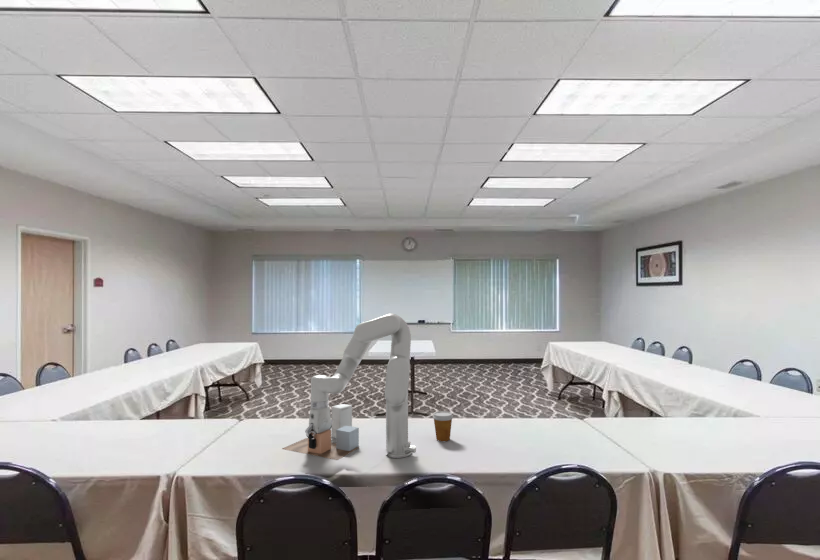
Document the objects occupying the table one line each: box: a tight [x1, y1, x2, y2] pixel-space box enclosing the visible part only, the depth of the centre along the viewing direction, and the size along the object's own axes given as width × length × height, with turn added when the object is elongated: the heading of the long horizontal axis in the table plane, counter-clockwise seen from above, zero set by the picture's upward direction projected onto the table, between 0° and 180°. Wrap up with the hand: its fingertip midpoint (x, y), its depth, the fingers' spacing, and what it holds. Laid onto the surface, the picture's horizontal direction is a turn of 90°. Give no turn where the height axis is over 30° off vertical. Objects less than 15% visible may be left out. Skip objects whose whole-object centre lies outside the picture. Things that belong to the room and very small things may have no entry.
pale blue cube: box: [335, 426, 360, 451], centre depth 183 cm, size 7×7×8 cm
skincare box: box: [330, 403, 353, 439], centre depth 199 cm, size 8×7×16 cm
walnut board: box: [281, 437, 360, 461], centre depth 182 cm, size 30×16×2 cm, turn 63°
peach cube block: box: [308, 429, 332, 454], centre depth 180 cm, size 7×7×8 cm
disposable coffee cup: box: [432, 410, 454, 442], centre depth 197 cm, size 10×10×12 cm
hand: (319, 444), depth 180 cm, fingers open, 9 cm apart
